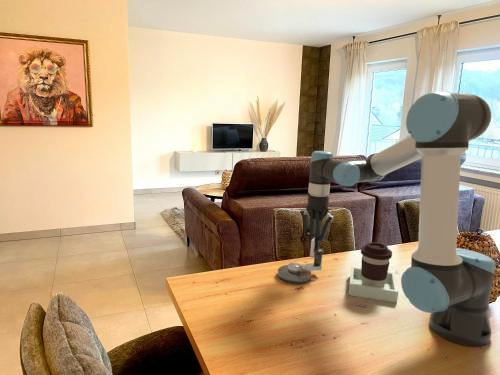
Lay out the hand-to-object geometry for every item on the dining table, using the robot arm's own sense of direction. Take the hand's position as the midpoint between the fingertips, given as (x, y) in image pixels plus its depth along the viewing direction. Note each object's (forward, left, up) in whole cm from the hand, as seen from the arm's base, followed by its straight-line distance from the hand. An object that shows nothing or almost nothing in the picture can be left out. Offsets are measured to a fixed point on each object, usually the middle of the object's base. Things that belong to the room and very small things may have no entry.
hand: (313, 255), depth 139 cm
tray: (-7, -21, -6) cm, 23 cm away
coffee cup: (-7, -21, -6) cm, 23 cm away
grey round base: (-7, +6, -6) cm, 11 cm away
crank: (-4, +2, -4) cm, 6 cm away
